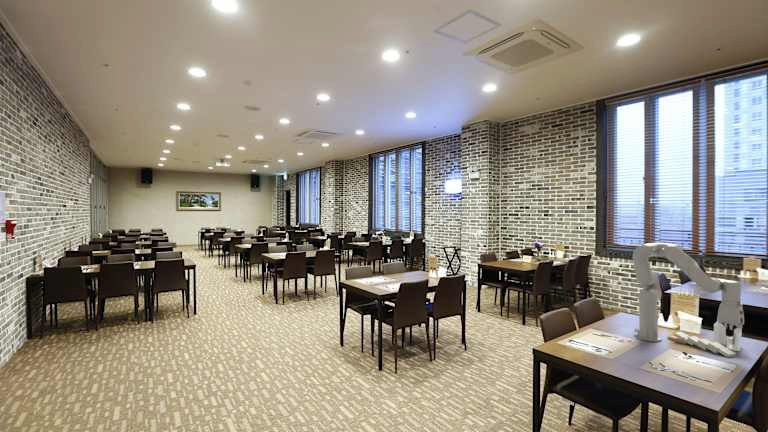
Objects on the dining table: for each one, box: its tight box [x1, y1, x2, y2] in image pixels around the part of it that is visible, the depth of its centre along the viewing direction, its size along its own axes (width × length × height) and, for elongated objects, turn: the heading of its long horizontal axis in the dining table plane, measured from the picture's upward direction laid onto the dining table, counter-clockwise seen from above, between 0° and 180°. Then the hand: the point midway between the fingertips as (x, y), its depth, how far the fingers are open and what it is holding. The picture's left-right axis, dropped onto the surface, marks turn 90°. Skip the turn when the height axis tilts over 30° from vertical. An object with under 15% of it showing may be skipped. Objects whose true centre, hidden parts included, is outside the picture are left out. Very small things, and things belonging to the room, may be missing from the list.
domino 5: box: [708, 341, 737, 358], centre depth 204 cm, size 2×6×10 cm
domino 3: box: [687, 335, 709, 351], centre depth 215 cm, size 2×6×10 cm
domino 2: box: [673, 331, 696, 346], centre depth 222 cm, size 2×6×10 cm
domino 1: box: [667, 334, 690, 345], centre depth 226 cm, size 2×6×10 cm
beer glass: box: [725, 328, 743, 352], centre depth 211 cm, size 7×7×15 cm
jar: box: [713, 316, 727, 346], centre depth 221 cm, size 12×10×15 cm
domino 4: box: [697, 338, 721, 354], centre depth 210 cm, size 2×6×10 cm
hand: (729, 336), depth 201 cm, fingers closed
